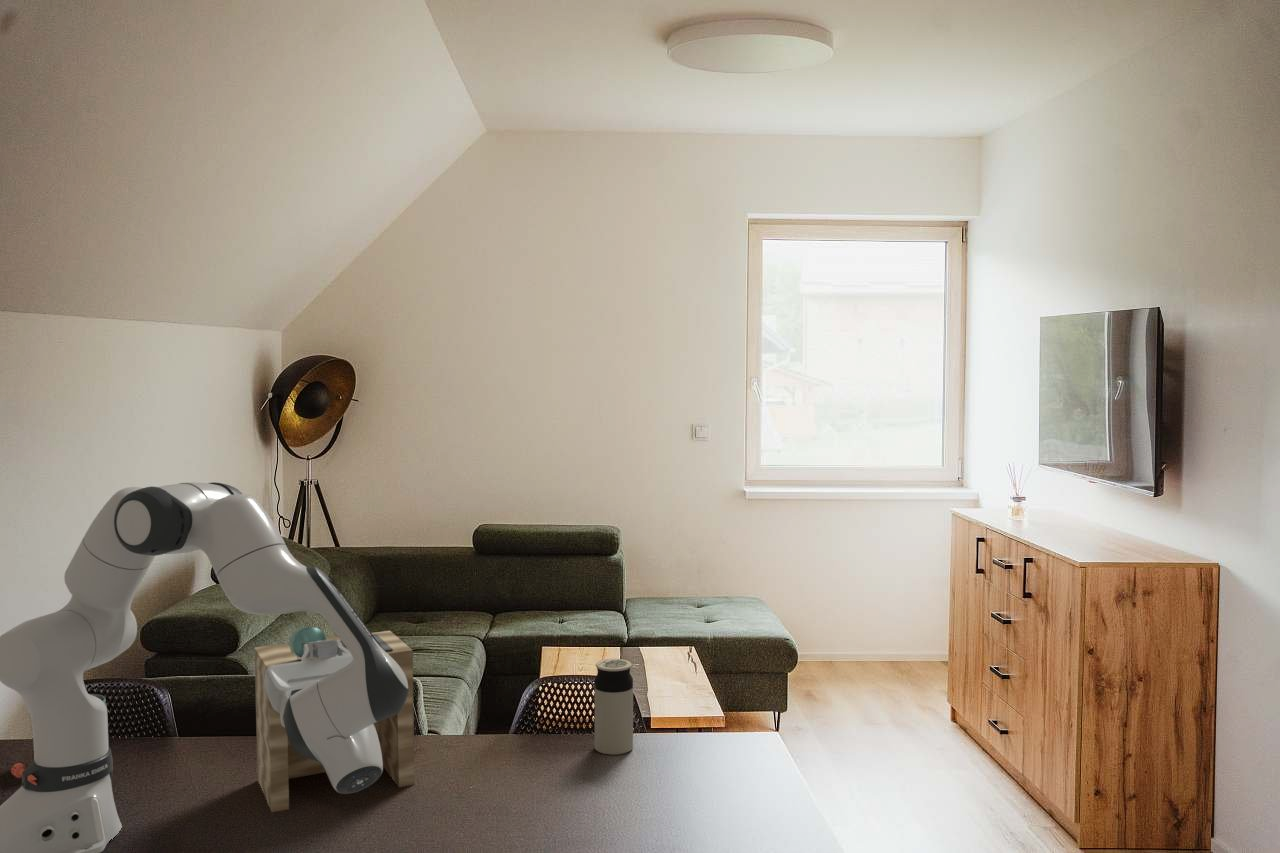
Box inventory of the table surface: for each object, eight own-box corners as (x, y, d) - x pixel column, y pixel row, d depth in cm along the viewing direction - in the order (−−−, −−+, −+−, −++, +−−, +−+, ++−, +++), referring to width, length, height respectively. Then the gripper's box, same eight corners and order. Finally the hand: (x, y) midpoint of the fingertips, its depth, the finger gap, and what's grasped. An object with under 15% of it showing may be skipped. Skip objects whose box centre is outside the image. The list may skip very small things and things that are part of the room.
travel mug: (640, 746, 218) (640, 661, 217) (619, 758, 212) (619, 671, 210) (608, 739, 223) (608, 656, 221) (587, 750, 216) (586, 665, 215)
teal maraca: (344, 657, 176) (342, 623, 176) (310, 661, 173) (308, 627, 174) (321, 656, 193) (318, 625, 194) (289, 660, 190) (287, 629, 191)
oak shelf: (414, 784, 199) (412, 647, 197) (271, 812, 186) (268, 667, 185) (391, 756, 213) (389, 628, 211) (257, 780, 201) (254, 645, 199)
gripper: (404, 680, 172) (383, 623, 182) (274, 700, 162) (260, 639, 172) (399, 707, 175) (379, 649, 185) (271, 729, 165) (258, 666, 175)
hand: (321, 644), depth 178 cm, fingers closed on teal maraca, 3 cm apart
